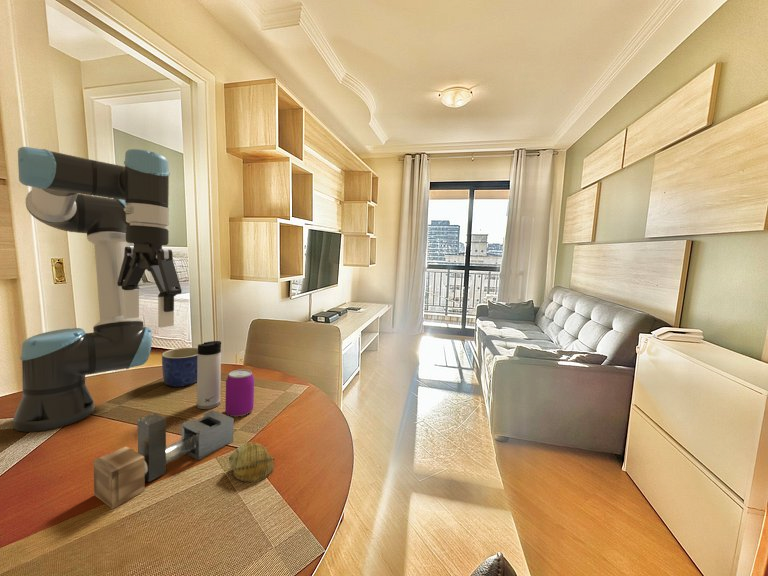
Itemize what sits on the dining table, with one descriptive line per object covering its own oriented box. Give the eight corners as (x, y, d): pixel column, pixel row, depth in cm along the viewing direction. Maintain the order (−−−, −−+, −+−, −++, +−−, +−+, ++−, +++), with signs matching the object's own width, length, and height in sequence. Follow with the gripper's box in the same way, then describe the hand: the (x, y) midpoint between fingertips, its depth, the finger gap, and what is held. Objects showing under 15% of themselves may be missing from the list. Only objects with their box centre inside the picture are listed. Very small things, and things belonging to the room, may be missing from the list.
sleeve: (216, 433, 82) (216, 408, 82) (233, 441, 80) (233, 415, 79) (181, 451, 74) (181, 423, 74) (198, 460, 72) (199, 431, 71)
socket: (126, 478, 65) (126, 446, 64) (144, 490, 62) (144, 456, 61) (94, 495, 60) (93, 460, 59) (112, 508, 57) (111, 472, 56)
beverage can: (227, 407, 97) (228, 369, 96) (254, 404, 99) (255, 367, 98) (223, 419, 90) (223, 378, 88) (252, 416, 92) (253, 376, 91)
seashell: (269, 482, 72) (271, 444, 76) (279, 478, 67) (280, 437, 72) (222, 488, 67) (227, 446, 71) (229, 483, 62) (234, 439, 67)
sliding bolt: (188, 449, 75) (189, 400, 74) (199, 454, 73) (200, 404, 72) (108, 489, 61) (108, 430, 60) (119, 497, 59) (119, 436, 58)
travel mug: (211, 411, 94) (212, 345, 92) (192, 407, 95) (192, 342, 93) (225, 402, 100) (226, 340, 98) (207, 399, 101) (208, 337, 99)
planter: (199, 373, 121) (199, 345, 121) (206, 384, 112) (206, 354, 111) (160, 379, 114) (160, 350, 113) (163, 392, 104) (163, 360, 103)
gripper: (97, 223, 71) (99, 316, 73) (163, 224, 60) (162, 333, 62) (135, 227, 78) (136, 312, 79) (200, 228, 67) (199, 327, 69)
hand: (148, 322), depth 71 cm, fingers open, 13 cm apart
